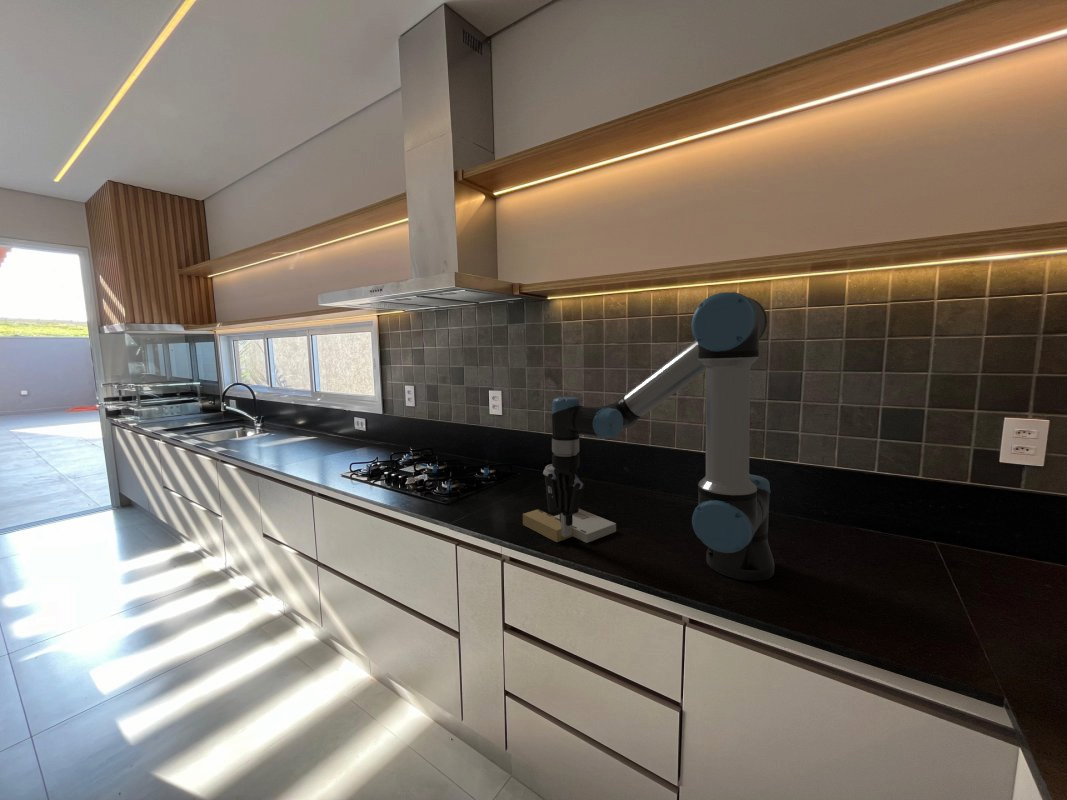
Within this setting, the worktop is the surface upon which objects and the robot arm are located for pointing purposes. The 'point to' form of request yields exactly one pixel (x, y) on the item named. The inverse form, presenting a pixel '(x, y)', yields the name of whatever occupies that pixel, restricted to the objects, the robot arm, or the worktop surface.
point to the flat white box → (590, 526)
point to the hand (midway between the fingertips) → (566, 535)
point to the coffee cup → (549, 489)
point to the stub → (544, 525)
